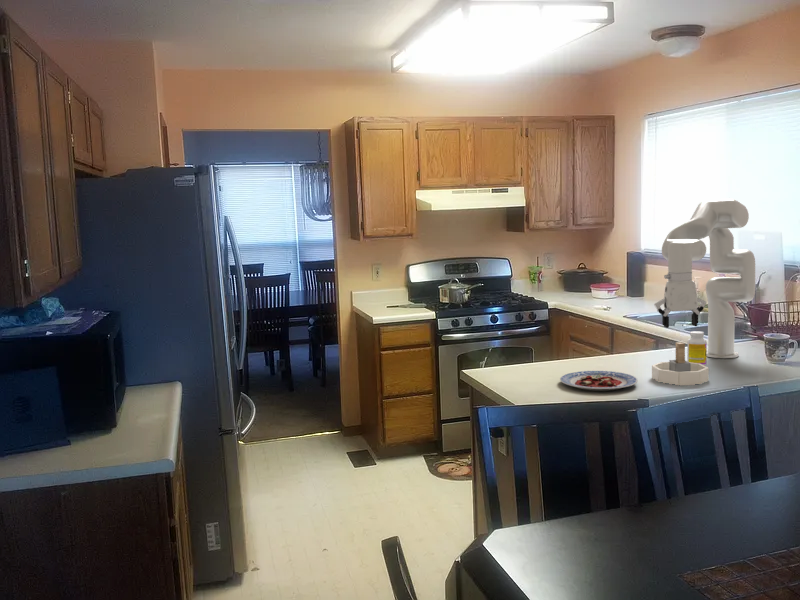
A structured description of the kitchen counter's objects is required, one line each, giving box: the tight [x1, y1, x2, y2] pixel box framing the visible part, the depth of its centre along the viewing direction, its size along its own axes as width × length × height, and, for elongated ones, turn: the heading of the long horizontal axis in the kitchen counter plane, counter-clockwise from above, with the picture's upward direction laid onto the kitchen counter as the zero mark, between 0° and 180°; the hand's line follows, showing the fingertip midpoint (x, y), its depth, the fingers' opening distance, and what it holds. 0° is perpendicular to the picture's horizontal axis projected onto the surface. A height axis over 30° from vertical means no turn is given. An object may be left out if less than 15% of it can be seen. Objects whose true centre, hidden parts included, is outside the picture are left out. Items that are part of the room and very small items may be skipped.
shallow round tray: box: [651, 359, 710, 386], centre depth 234 cm, size 17×17×6 cm
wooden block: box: [675, 342, 686, 363], centre depth 234 cm, size 3×2×12 cm, turn 0°
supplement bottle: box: [686, 330, 708, 367], centre depth 254 cm, size 7×7×13 cm
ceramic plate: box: [559, 370, 639, 392], centre depth 233 cm, size 26×26×3 cm
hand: (680, 326), depth 233 cm, fingers open, 9 cm apart
